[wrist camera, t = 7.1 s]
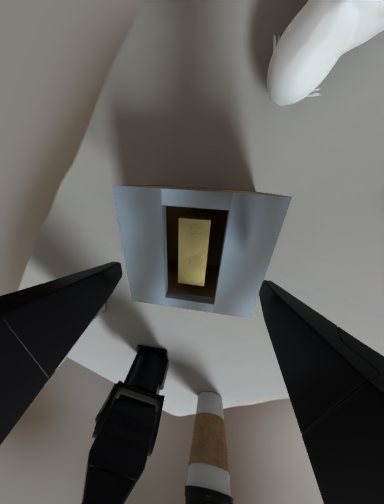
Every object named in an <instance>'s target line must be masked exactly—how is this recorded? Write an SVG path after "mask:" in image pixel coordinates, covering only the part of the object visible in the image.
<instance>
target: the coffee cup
mask: <svg viewBox="0 0 384 504" xmlns="http://www.w3.org/2000/svg"><path fill="white" fill-rule="evenodd" d="M189 466H190V467H189V476H188V484H187V486H185V497H186V504H233V498H232V497H231V492H230V481H229V475H230V470H229V461H228V452H227V443H226V434H225V425H224V416H223V405H222V398H221V397H220V396H219V395H218V394H216V393H213V392H201V393H200V394H199V395H198V403H197V411H196V417H195V425H194V432H193V438H192V445H191V452H190V460H189Z"/></svg>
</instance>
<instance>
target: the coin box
mask: <svg viewBox="0 0 384 504" xmlns="http://www.w3.org/2000/svg"><path fill="white" fill-rule="evenodd" d="M112 189H113V194H114V200H115V206H116V212H117V217H118V223H119V229H120V234H121V240H122V246H123V252H124V257H125V263H126V269H127V274H128V280H129V286H130V292H131V297H132V301H138V302H144V303H151V304H158V305H164V306H171V307H178V308H184V309H191V310H198V311H204V312H211V313H218V314H224V315H231V316H238V317H245V318H251V315H252V312H253V309H254V306H255V303H256V300H257V298H258V295H259V291H260V288H261V285H262V282H263V280H264V277H265V274H266V271H267V268H268V265H269V262H270V259H271V256H272V254H273V251H274V248H275V245H276V242H277V239H278V236H279V233H280V230H281V227H282V224H283V221H284V218H285V215H286V212H287V209H288V207H289V204H290V201H291V198H292V197H289V196H282V195H275V194H268V193H261V192H252V191H236V190H221V189H205V188H189V187H173V186H158V185H112ZM190 207H192V208H205V209H212V212H211V225H210V234H209V244H208V253H207V263H206V272H205V282H204V286H199V285H191V284H183V283H178V228H179V217H180V216H181V215H182V214H183V213H184V212H185V211H187V210H188V209H189V208H190Z"/></svg>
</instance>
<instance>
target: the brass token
mask: <svg viewBox="0 0 384 504" xmlns="http://www.w3.org/2000/svg"><path fill="white" fill-rule="evenodd" d="M211 212H212V209H205V208H192V207H190V208H189V209H188V210H187V211H185V212H184V213H183V214H182V215H181V216H180V217H179V228H178V283H183V284H191V285H199V286H204V282H205V272H206V263H207V253H208V244H209V234H210V225H211Z"/></svg>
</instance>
